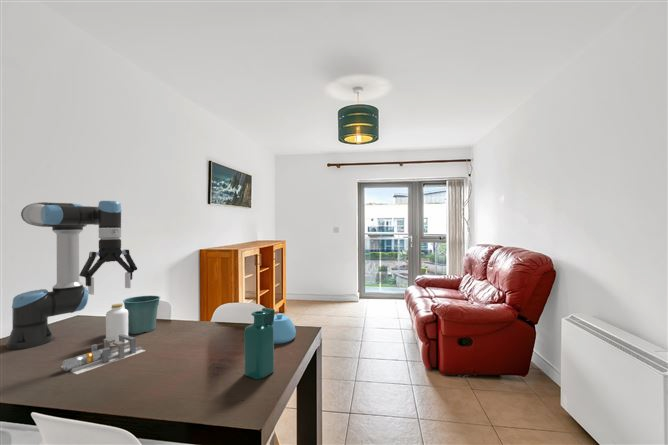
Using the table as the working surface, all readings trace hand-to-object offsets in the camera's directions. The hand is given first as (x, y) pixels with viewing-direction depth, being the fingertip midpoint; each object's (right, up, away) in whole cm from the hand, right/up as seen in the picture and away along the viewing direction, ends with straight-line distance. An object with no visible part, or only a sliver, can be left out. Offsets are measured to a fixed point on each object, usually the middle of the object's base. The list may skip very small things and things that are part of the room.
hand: (110, 291), depth 129 cm
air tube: (-2, -26, -9) cm, 27 cm away
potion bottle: (-6, -27, +13) cm, 31 cm away
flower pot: (-7, -27, +33) cm, 43 cm away
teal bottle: (+65, -26, -15) cm, 71 cm away
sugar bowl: (+66, -27, +19) cm, 73 cm away
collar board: (+1, -27, -4) cm, 27 cm away
